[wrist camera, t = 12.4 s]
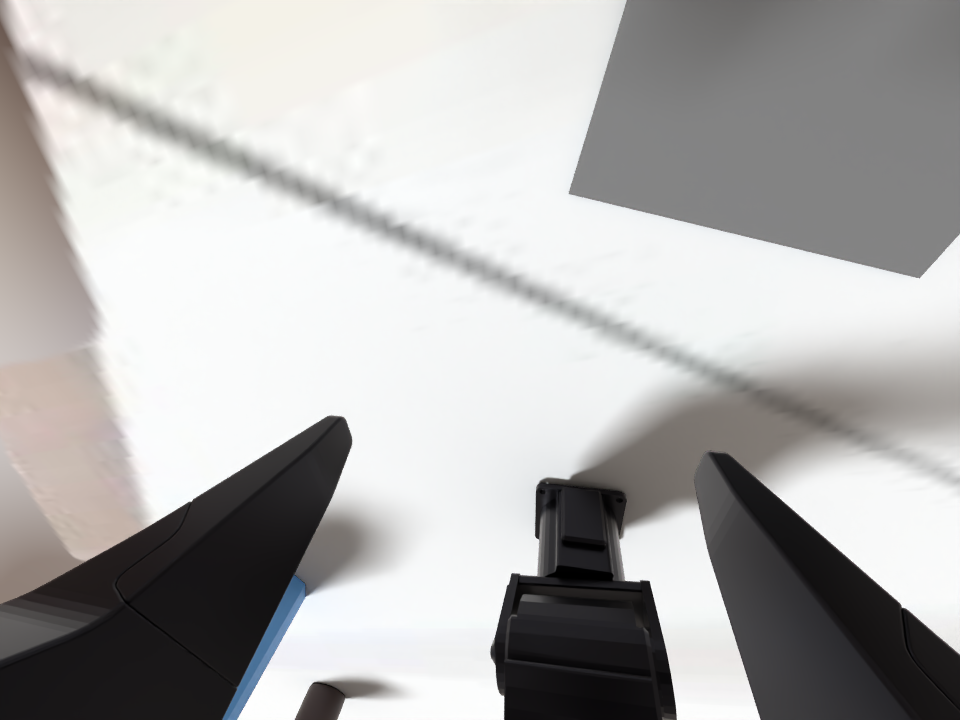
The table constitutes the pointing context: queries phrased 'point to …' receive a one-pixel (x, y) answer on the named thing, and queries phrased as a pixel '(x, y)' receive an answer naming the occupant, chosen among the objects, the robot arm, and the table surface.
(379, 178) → the table surface
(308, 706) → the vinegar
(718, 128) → the rubber mat
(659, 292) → the table surface
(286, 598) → the water bottle
